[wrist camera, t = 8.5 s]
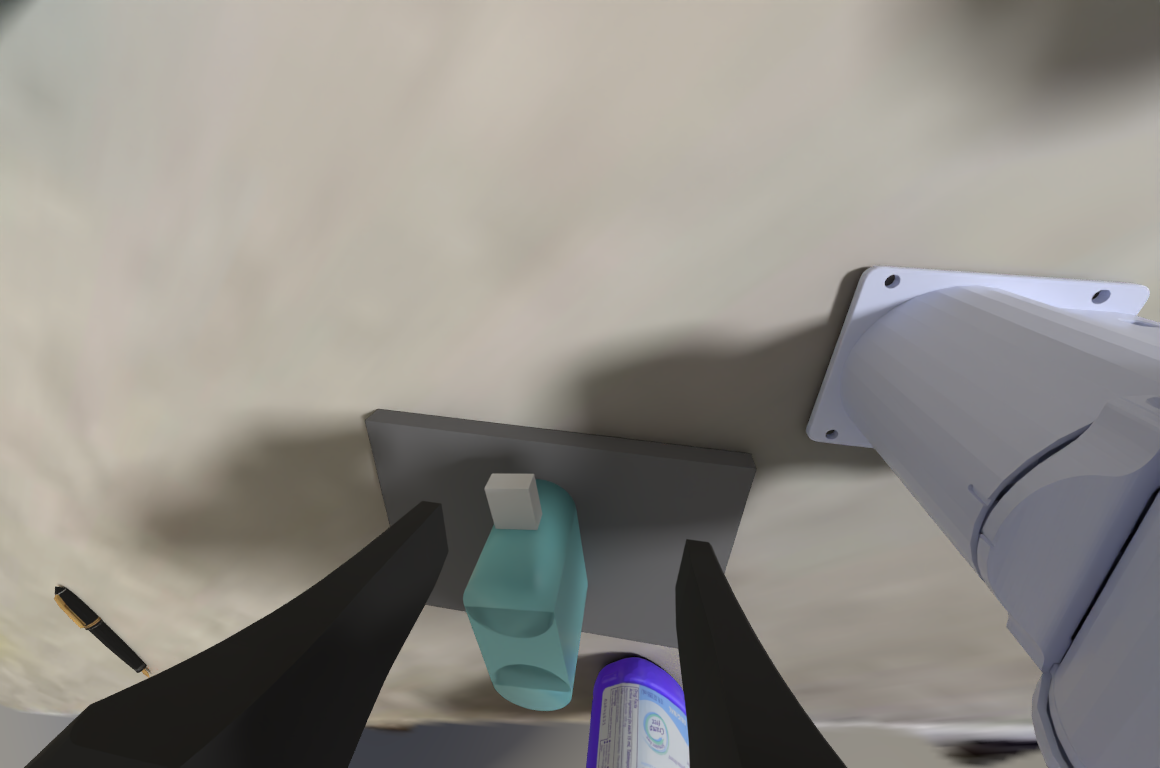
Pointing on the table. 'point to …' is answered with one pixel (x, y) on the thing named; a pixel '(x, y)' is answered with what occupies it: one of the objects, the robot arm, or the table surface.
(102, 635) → the fountain pen
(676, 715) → the bottle
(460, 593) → the rubber mat
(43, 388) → the table surface
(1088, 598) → the robot arm
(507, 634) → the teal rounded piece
